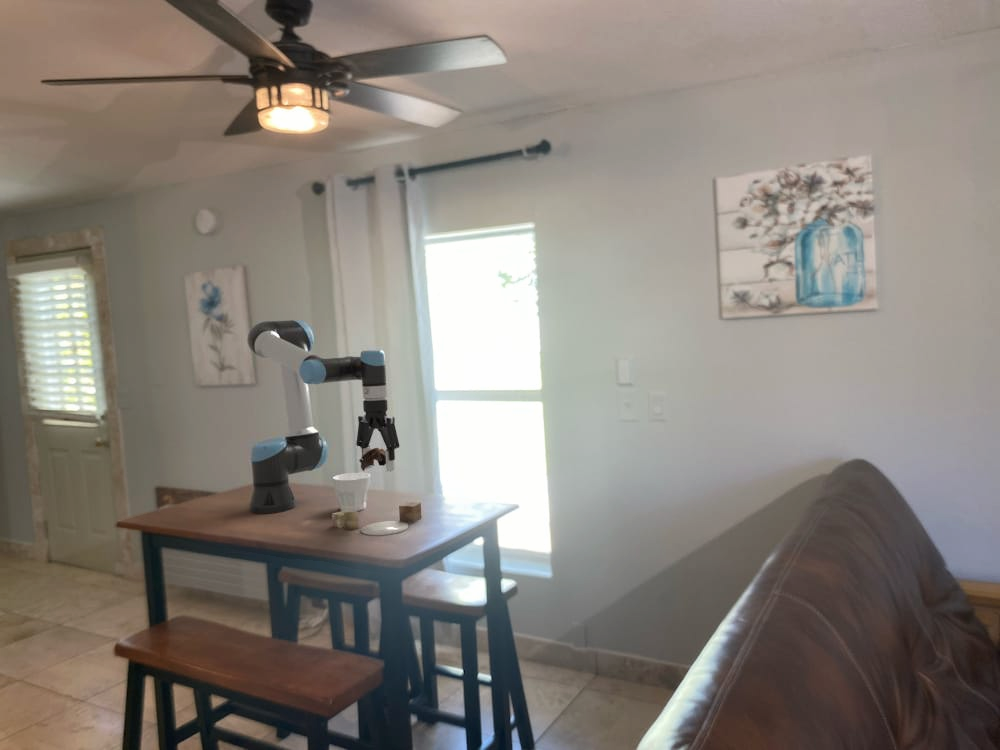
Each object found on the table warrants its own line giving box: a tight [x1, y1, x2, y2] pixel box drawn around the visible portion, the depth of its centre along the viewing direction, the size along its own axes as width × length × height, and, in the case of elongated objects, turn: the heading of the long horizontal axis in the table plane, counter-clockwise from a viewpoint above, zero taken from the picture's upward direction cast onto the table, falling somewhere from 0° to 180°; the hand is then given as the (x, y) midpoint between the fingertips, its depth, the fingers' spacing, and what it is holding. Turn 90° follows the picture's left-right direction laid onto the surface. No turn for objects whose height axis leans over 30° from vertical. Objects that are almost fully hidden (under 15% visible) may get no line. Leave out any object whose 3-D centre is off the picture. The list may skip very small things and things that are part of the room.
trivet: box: [360, 520, 409, 537], centre depth 218 cm, size 14×14×1 cm
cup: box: [332, 472, 371, 512], centre depth 245 cm, size 12×12×11 cm
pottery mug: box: [359, 447, 386, 472], centre depth 232 cm, size 12×10×8 cm
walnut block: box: [398, 501, 422, 523], centre depth 227 cm, size 5×5×5 cm
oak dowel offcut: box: [344, 510, 359, 531], centre depth 220 cm, size 4×4×5 cm
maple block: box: [331, 510, 351, 529], centre depth 225 cm, size 4×6×4 cm, turn 135°
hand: (378, 469), depth 231 cm, fingers closed on pottery mug, 9 cm apart
